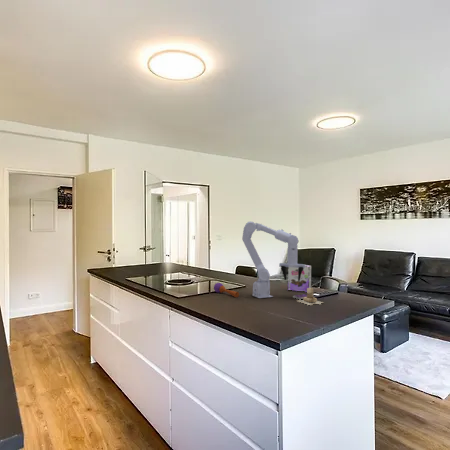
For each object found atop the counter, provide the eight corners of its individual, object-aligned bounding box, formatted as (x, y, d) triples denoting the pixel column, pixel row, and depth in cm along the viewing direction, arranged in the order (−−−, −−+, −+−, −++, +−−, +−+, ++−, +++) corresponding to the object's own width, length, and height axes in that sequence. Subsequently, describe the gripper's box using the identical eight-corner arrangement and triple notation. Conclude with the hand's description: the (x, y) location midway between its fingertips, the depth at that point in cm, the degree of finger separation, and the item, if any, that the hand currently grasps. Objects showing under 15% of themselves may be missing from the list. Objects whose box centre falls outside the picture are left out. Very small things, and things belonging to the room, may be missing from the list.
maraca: (232, 291, 179) (211, 283, 195) (233, 301, 180) (212, 292, 196) (240, 288, 183) (219, 280, 199) (241, 298, 184) (220, 289, 200)
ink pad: (299, 299, 177) (299, 297, 177) (292, 297, 183) (292, 295, 183) (311, 298, 181) (311, 296, 181) (304, 296, 186) (304, 294, 186)
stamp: (309, 302, 168) (309, 289, 168) (303, 300, 172) (303, 287, 172) (316, 302, 170) (317, 288, 170) (310, 300, 174) (310, 287, 174)
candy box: (287, 290, 204) (287, 264, 204) (289, 289, 209) (290, 263, 209) (309, 293, 197) (309, 266, 197) (311, 291, 202) (311, 265, 203)
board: (308, 305, 164) (308, 304, 164) (296, 301, 173) (296, 300, 173) (323, 303, 168) (323, 302, 168) (311, 299, 177) (311, 298, 177)
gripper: (278, 256, 183) (278, 280, 182) (304, 257, 178) (304, 281, 177) (280, 255, 189) (280, 278, 189) (305, 256, 184) (305, 280, 184)
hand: (292, 280), depth 184 cm, fingers open, 7 cm apart
